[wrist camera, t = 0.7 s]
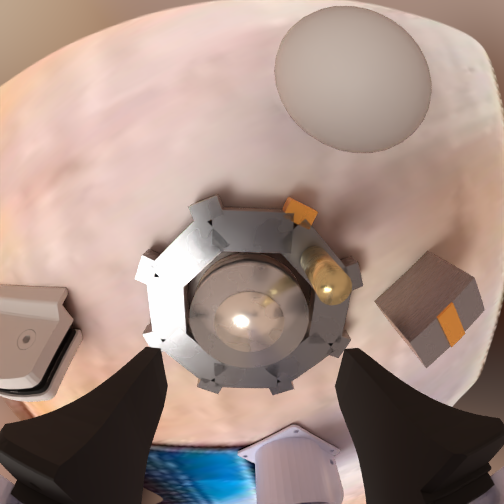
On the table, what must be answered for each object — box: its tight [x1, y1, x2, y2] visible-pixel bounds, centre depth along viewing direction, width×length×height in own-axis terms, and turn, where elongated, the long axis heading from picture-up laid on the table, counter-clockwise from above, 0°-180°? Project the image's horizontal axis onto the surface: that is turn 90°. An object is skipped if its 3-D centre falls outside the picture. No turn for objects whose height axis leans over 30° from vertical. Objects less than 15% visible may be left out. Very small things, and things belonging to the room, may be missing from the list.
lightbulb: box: [274, 6, 431, 153], centre depth 11 cm, size 6×6×11 cm
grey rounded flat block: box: [0, 285, 83, 402], centre depth 17 cm, size 17×5×10 cm, turn 91°
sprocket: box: [135, 194, 363, 395], centre depth 17 cm, size 15×15×6 cm
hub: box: [189, 253, 309, 368], centre depth 19 cm, size 8×8×3 cm
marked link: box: [374, 251, 485, 368], centre depth 17 cm, size 4×6×6 cm, turn 132°
